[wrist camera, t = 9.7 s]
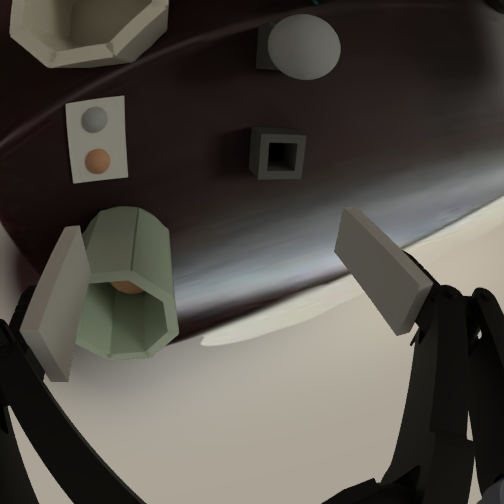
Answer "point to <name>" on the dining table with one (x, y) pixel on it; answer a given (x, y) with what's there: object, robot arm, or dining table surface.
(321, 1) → the tampon box
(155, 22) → the beaker cream
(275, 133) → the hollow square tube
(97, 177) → the card
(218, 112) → the dining table surface
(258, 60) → the cradle grey
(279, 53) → the grey ball
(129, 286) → the terracotta ball
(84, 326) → the beaker sage
